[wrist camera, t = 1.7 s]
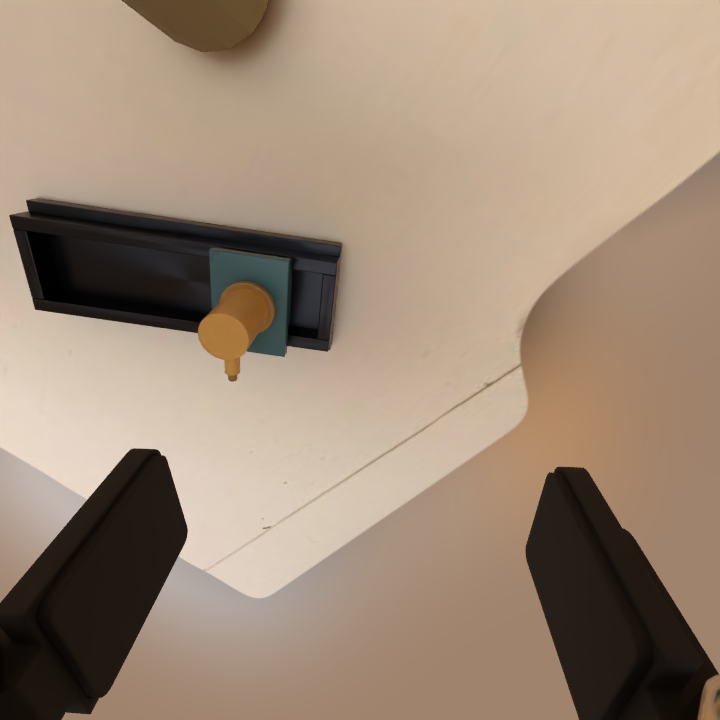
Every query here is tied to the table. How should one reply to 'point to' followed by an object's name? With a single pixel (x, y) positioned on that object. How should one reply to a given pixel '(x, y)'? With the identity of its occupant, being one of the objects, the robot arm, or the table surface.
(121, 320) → the black rectangular tray
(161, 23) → the squeeze bottle
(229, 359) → the nozzle
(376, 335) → the table surface
